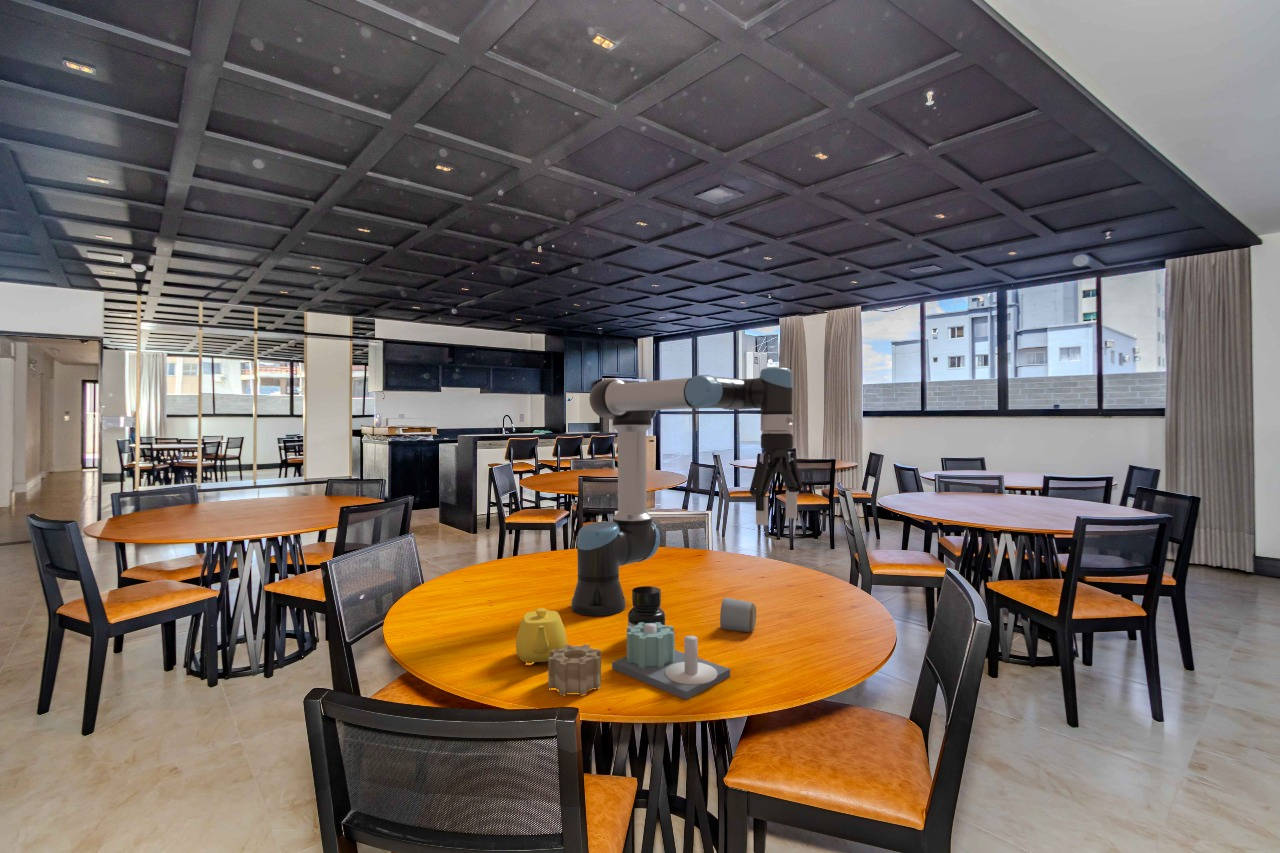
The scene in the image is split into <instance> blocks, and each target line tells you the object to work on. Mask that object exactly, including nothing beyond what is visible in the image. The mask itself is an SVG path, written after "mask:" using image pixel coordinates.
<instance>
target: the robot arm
mask: <svg viewBox="0 0 1280 853" xmlns="http://www.w3.org/2000/svg"><path fill="white" fill-rule="evenodd" d="M793 383H794V382H793V372H792V370H791V369H790V368H786V367H767V368H763V369H761V370H760V375H759V377H756V378H755V377H754V378H732V377H722V376H715V375H714V376H713V375H710V374H699V375H695V376H692V377H684V378H674V379H673V378H672V379H660V380H647V381H639V380H627V379H624V380H623V379H614V378H613V379H612V378H609V379H603V380H601V381H598V382H597V383H596V384H594V386H593V387H592V389H591V390H590V393H589V398H588V400H589V405H590V407H591V409H592V411H593V412H594V413H595V414H596V416H598V417H599V418H603V419H605V420H612V427H613V428H614V429H615V431H616V432H617V513H615V515H614V516H612V521H600V522H597V521H596V522H592V523H588V524H586V525H583V526H581V528H579V530H578V532H577V541H576V546H577V547H576V549H577V582H576V585H575V588H574V593H573V597H572V599H571V607H570V608H571V610H572V612H574V613H576V614H578V615H581V616H588V617H601V616H603V617H604V616H610V615H615V614H618V613H621V612H622V611H624V610H625V609H626V597H625V595H624V592H623V588H622V585H621V582H620V567H623V566H626V565H630V564H634V563H641V562H644V561H646V560H648V559H650V558H652V557H653V556H654V555H655V554H656V553H657V552H658V549H659V547H660V542H661V541H660V540H661V537H660V531H659V529H658V528H657V525H656V524H655V523H654V522H653V520H652V519H653V516H652V515H650V513H648V510H647V507H648V506H647V504H648V503H647V502H648V501H647V499H648V498H647V497H648V496H647V494H648V493H647V484H648V482H647V479H648V478H647V432H648V430H649V429H650V428H651V427H652V419H654V418H655V417H656V414H657V413H658V412H659V410H660V411H662V410H686V409H687V410H688V409H723V410H729V411H732V410H734V411H737V410H751V409H752V410H753V409H756V410H757V409H760V431H761V432H762V433H761V434H760V448H761V449H762V450H765V453H757V456H756V465H755V468H754V473H753V476H752V480H751V484H750V488H749V494H750V495H751V497H755V525H759V526H765V527H766V526H769V497H768V496H766V495H767V493H768V490H769V488H770V486H771V483H772V481H773V478H774V476H775V475H777V473H779V474H780V477H781V478H782V480H783V483H784V485H785V487H786V489H787V490H786V491H785V518H786V519H793V520H795V519H798V493H800V492H802V488H803V484H802V483H803V482H802V480H801V476H800V472H799V468H798V464H797V463H798V462H797V458H796V452H795V451H789V450H792V449H793V448H794V435H793V433H791V432H792V431H793V430H794V429H793V426H794V425H793V422H794V418H793V396H794V395H793V388H794V385H793Z"/></svg>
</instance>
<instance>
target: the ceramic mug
mask: <svg viewBox="0 0 1280 853" xmlns="http://www.w3.org/2000/svg"><path fill="white" fill-rule="evenodd" d="M719 615H720V616H719V617H720V618H719V625H720V628H721V629H722V630H727V631H736V632H742V633H743V632H744V633H751V632H753V631H754V630H755V628H756V627H755V626H756V623H757V606H756V604H755V603H753V602H752V601H749V600H747V601H746V600H740V599H737V598H736V599H735V598H731V597H723V599H722V601H721V606H720V614H719Z"/></svg>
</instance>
